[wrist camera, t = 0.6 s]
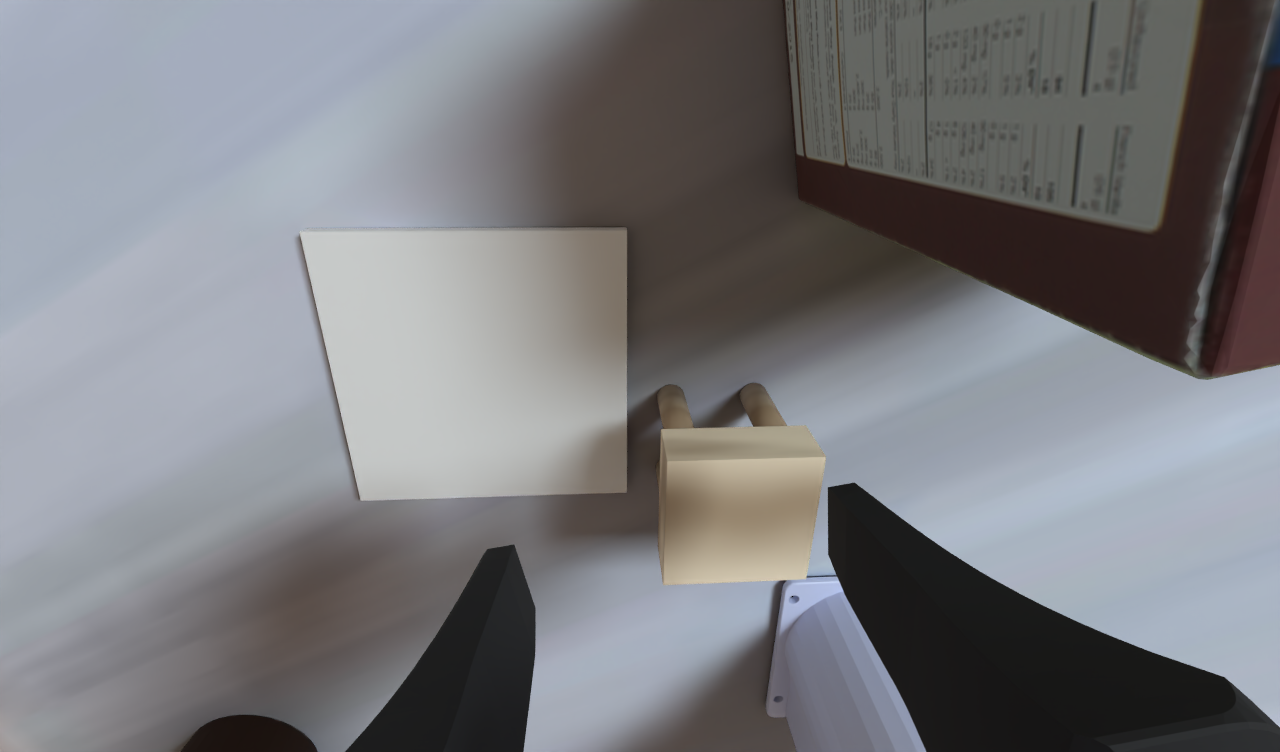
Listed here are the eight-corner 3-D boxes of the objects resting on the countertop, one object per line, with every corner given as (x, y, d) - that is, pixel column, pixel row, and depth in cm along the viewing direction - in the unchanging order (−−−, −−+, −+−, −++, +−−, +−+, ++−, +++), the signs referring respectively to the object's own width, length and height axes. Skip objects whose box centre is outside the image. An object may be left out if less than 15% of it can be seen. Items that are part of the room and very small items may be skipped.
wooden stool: (762, 480, 26) (805, 579, 21) (649, 483, 26) (663, 585, 20) (774, 376, 24) (826, 457, 19) (651, 379, 24) (667, 461, 18)
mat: (626, 484, 26) (627, 492, 25) (365, 492, 25) (360, 500, 24) (626, 227, 21) (627, 230, 21) (307, 228, 20) (299, 231, 20)
